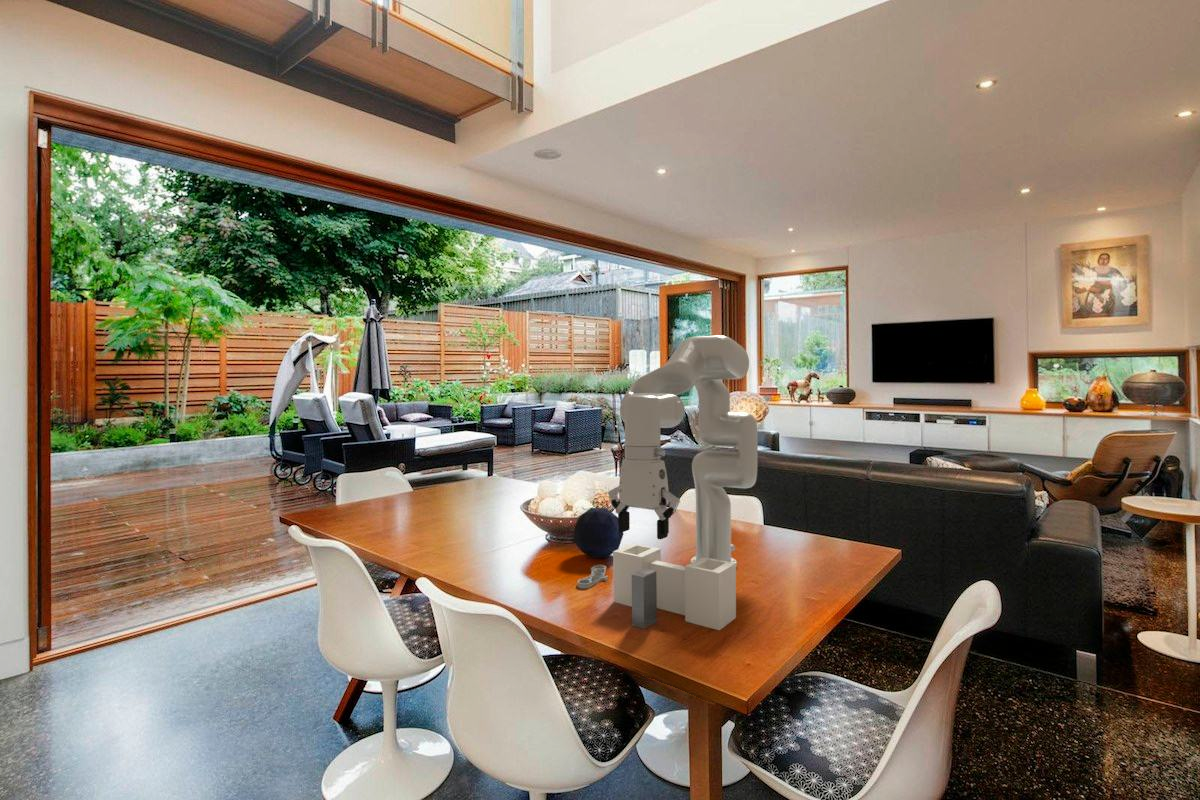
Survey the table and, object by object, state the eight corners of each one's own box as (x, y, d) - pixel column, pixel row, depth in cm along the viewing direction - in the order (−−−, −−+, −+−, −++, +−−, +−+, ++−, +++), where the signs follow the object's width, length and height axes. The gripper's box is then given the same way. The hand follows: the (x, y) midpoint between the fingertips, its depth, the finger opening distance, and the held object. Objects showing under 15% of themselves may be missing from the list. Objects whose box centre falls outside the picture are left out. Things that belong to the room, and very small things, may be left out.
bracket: (563, 579, 153) (598, 562, 165) (564, 586, 153) (598, 569, 166) (587, 584, 149) (621, 567, 161) (588, 592, 149) (621, 574, 161)
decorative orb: (622, 529, 187) (593, 492, 183) (640, 541, 172) (609, 502, 169) (587, 560, 183) (557, 524, 180) (602, 576, 169) (570, 537, 166)
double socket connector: (633, 591, 147) (632, 543, 147) (736, 617, 131) (735, 563, 130) (613, 601, 141) (613, 551, 140) (719, 630, 125) (719, 573, 124)
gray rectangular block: (645, 618, 132) (644, 568, 131) (656, 621, 130) (656, 570, 129) (632, 625, 128) (631, 574, 127) (644, 629, 126) (643, 577, 125)
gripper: (687, 454, 125) (687, 537, 125) (619, 449, 135) (619, 525, 136) (668, 458, 119) (669, 544, 119) (599, 452, 129) (599, 532, 130)
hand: (642, 534), depth 127 cm, fingers open, 9 cm apart
